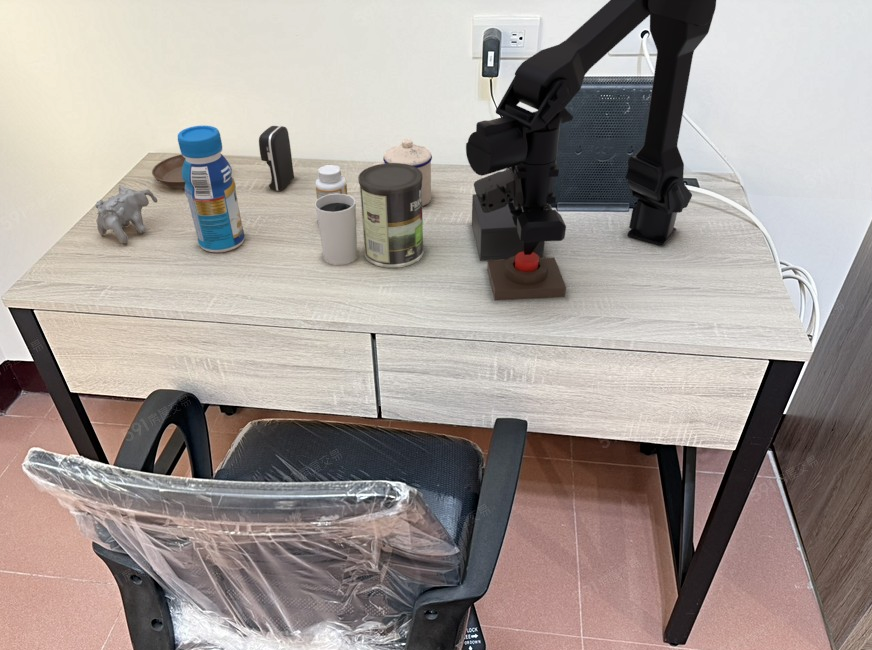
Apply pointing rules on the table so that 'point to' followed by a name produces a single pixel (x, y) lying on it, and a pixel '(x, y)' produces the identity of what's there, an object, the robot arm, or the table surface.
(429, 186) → the cream enamel canister
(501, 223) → the lid
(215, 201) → the beverage bottle
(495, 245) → the black box
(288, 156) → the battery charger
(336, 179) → the supplement bottle
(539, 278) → the brown button base
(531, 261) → the release button
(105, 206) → the gray elephant figurine
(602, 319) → the table surface
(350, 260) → the white coffee mug
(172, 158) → the saucer
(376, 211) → the coffee can
